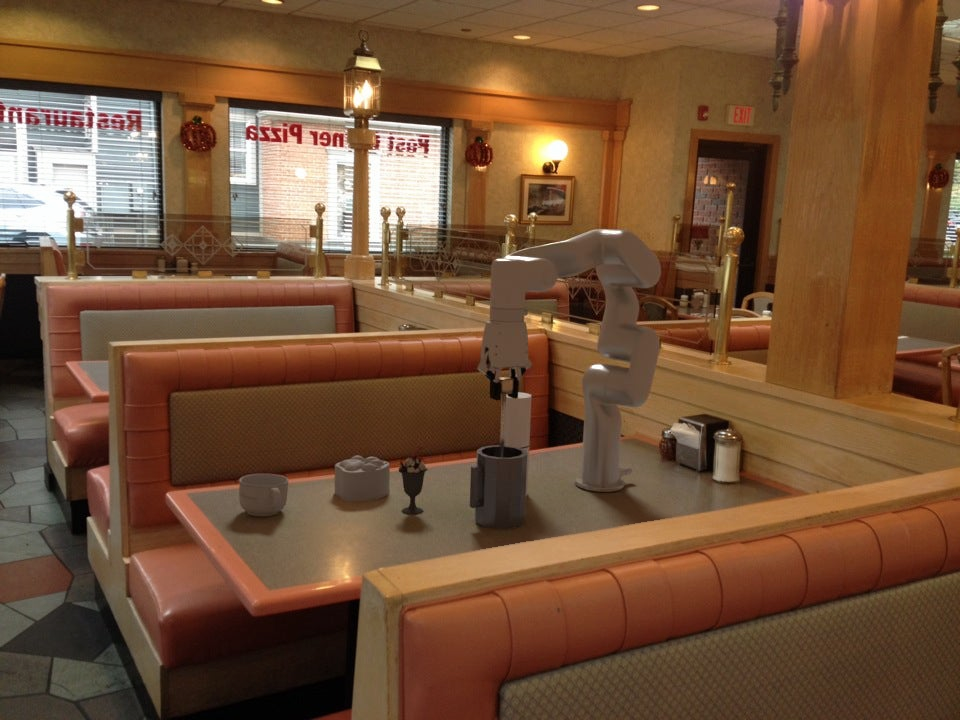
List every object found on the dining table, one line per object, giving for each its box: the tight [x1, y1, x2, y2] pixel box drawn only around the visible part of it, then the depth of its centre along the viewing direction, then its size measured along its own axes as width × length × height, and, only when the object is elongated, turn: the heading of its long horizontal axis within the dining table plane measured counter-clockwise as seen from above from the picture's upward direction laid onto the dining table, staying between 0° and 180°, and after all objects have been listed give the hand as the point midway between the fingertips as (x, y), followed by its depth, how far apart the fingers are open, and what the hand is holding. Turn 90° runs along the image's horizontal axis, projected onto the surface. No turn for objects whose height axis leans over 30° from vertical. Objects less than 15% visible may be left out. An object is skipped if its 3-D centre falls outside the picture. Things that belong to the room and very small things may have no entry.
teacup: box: [238, 473, 290, 517], centre depth 195 cm, size 14×11×8 cm
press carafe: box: [469, 444, 527, 530], centre depth 195 cm, size 13×11×16 cm
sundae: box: [398, 446, 428, 515], centre depth 200 cm, size 7×7×15 cm
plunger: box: [499, 376, 514, 458], centre depth 193 cm, size 8×8×21 cm
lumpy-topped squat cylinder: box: [334, 454, 391, 503], centre depth 212 cm, size 10×13×9 cm
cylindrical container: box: [504, 391, 532, 497], centre depth 214 cm, size 7×7×25 cm
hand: (503, 397), depth 192 cm, fingers closed on plunger, 4 cm apart
